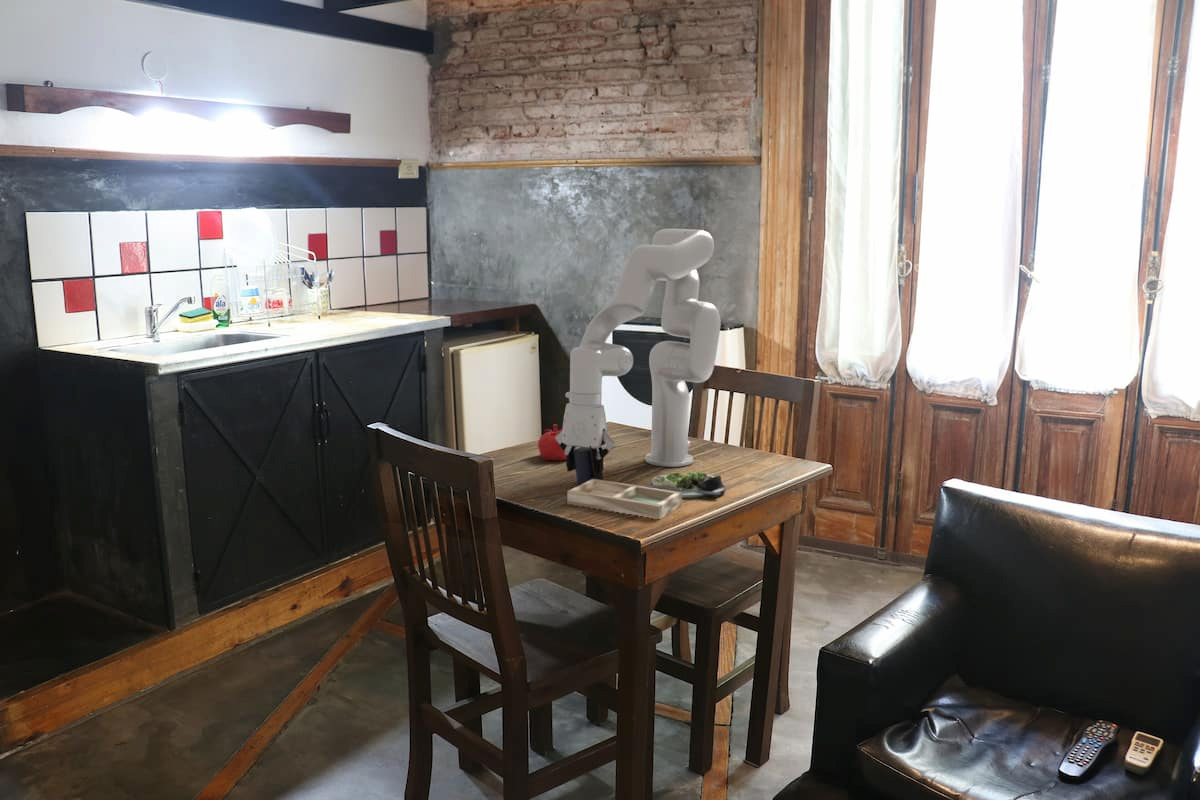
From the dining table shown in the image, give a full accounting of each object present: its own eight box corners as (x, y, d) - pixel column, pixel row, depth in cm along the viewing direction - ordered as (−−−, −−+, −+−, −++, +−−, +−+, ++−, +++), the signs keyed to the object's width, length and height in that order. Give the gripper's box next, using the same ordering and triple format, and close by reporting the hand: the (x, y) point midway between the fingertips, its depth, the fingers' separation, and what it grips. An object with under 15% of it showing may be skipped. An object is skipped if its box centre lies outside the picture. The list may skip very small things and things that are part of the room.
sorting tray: (592, 490, 232) (592, 478, 232) (681, 505, 222) (681, 492, 221) (567, 504, 222) (567, 491, 221) (659, 519, 212) (659, 506, 211)
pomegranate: (571, 464, 256) (572, 430, 254) (534, 462, 258) (534, 427, 256) (578, 454, 266) (579, 421, 264) (542, 452, 267) (542, 418, 265)
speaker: (611, 482, 239) (607, 440, 237) (596, 488, 234) (591, 446, 232) (587, 480, 243) (582, 438, 242) (572, 486, 239) (567, 444, 237)
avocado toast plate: (647, 503, 225) (648, 483, 224) (637, 481, 242) (637, 463, 241) (731, 501, 227) (732, 482, 226) (715, 480, 244) (715, 462, 243)
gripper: (546, 397, 235) (545, 470, 239) (610, 405, 227) (609, 481, 231) (561, 393, 242) (561, 464, 245) (625, 400, 234) (623, 473, 237)
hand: (584, 471), depth 238 cm, fingers closed on speaker, 6 cm apart
